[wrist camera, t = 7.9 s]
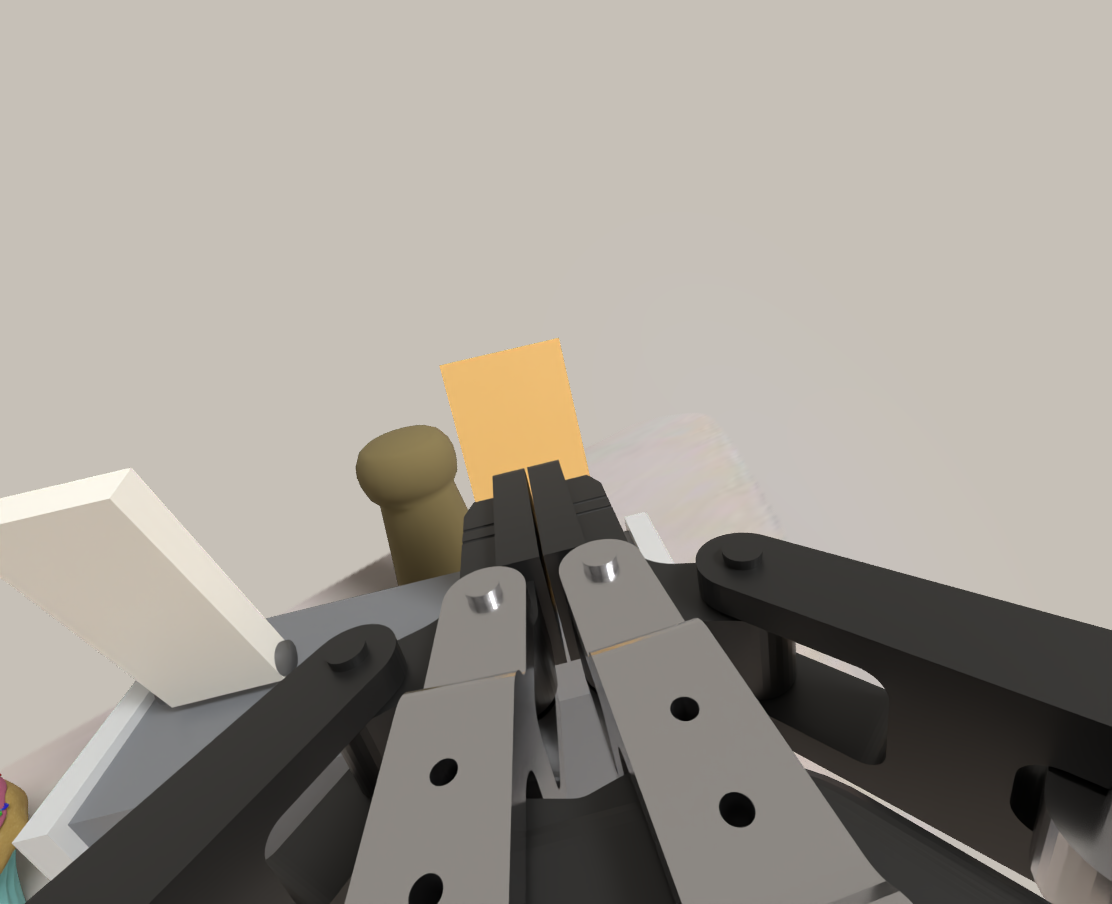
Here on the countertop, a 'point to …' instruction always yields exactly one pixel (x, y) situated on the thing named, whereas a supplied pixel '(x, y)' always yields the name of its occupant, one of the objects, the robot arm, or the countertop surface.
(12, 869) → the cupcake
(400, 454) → the cork
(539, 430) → the outlet rocker
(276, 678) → the rocker switch
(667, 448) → the countertop surface
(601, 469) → the countertop surface
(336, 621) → the switch box
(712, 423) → the countertop surface
